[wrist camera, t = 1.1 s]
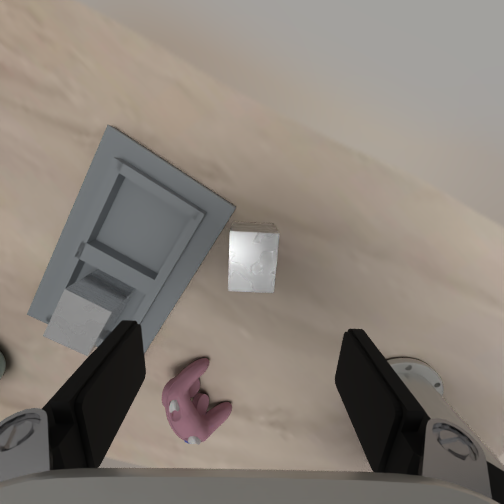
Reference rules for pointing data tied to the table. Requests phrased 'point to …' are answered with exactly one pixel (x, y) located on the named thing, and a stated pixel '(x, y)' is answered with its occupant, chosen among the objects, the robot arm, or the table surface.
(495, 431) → the table surface
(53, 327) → the block
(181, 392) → the video game controller
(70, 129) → the table surface
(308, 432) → the table surface
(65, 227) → the grey fixture tray
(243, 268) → the billet
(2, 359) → the cup
